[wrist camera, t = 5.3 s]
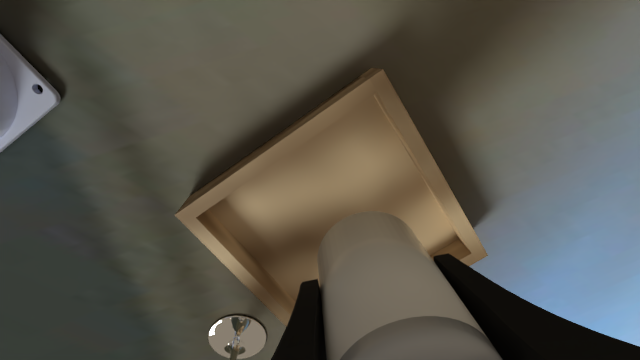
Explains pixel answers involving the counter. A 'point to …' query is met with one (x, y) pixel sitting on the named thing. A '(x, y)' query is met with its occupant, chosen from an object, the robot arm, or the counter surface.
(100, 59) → the counter surface
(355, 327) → the shaker
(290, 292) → the tray
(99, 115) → the counter surface
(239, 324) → the wineglass
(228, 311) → the counter surface
